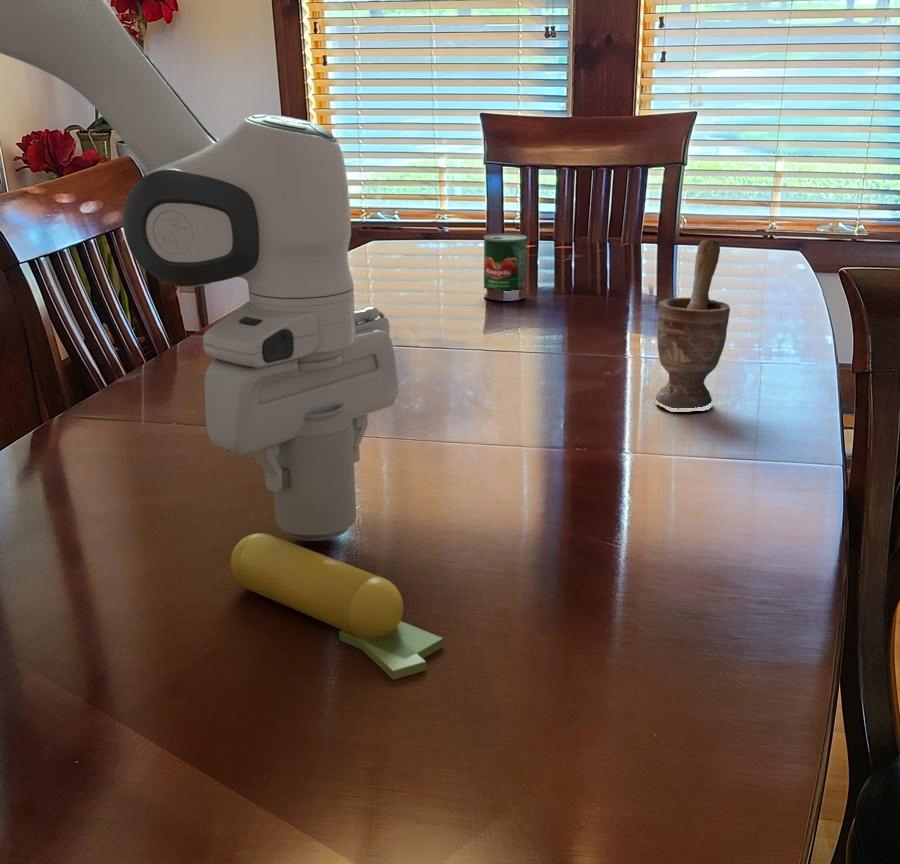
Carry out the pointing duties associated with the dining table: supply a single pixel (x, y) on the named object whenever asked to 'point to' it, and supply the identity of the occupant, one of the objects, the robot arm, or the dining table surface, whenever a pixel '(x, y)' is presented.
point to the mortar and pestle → (692, 335)
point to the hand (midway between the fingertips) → (313, 475)
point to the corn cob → (336, 600)
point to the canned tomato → (504, 262)
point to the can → (318, 479)
